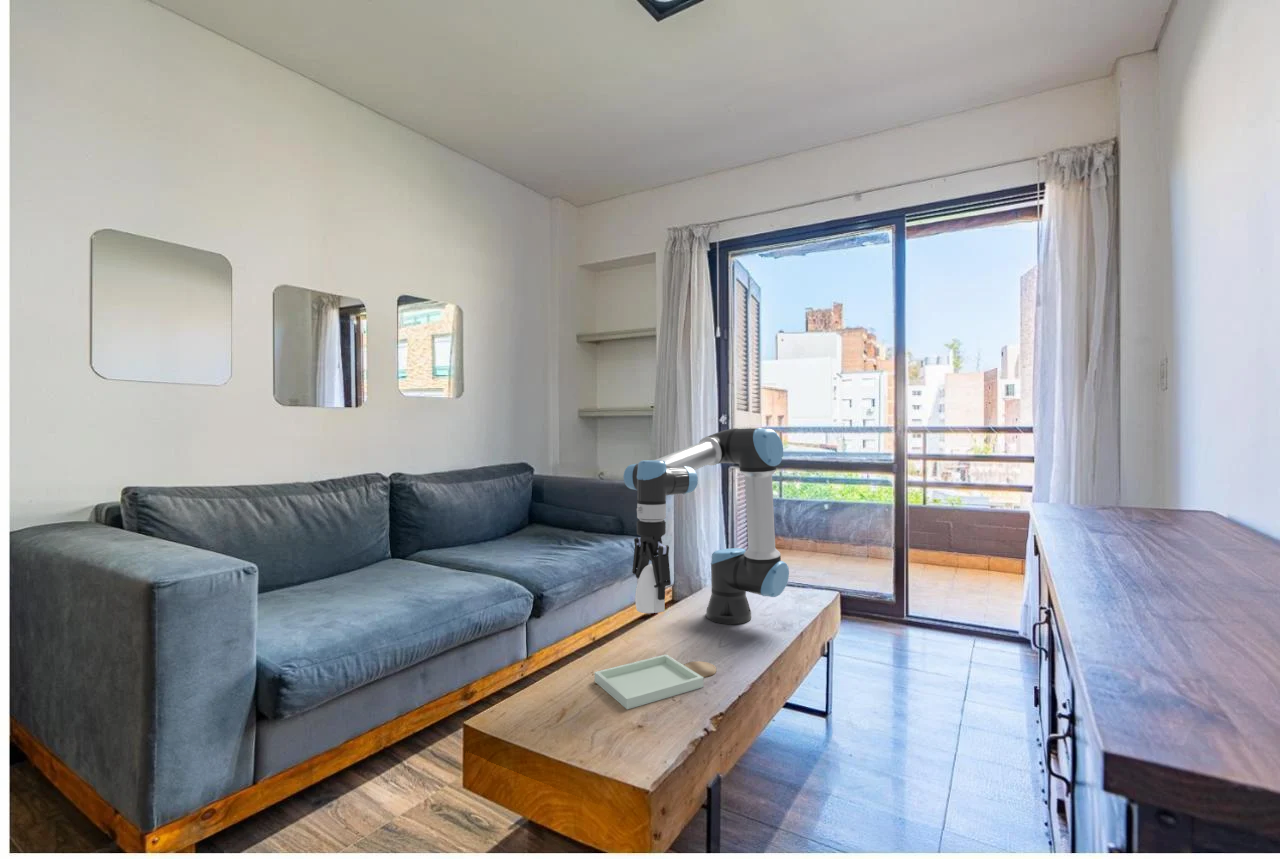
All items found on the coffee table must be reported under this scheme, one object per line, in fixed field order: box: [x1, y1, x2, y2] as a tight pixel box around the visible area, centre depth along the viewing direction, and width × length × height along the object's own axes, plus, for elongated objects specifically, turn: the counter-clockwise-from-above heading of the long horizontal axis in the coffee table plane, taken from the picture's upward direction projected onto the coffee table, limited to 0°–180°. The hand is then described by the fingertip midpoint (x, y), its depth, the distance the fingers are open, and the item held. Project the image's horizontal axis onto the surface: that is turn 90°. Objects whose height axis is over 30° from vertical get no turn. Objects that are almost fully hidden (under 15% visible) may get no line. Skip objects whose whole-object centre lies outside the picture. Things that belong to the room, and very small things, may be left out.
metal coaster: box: [683, 660, 717, 678], centre depth 152 cm, size 9×9×1 cm
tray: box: [594, 653, 705, 710], centre depth 144 cm, size 22×17×2 cm
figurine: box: [634, 563, 656, 614], centre depth 148 cm, size 7×8×12 cm
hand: (650, 607), depth 148 cm, fingers closed on figurine, 8 cm apart
